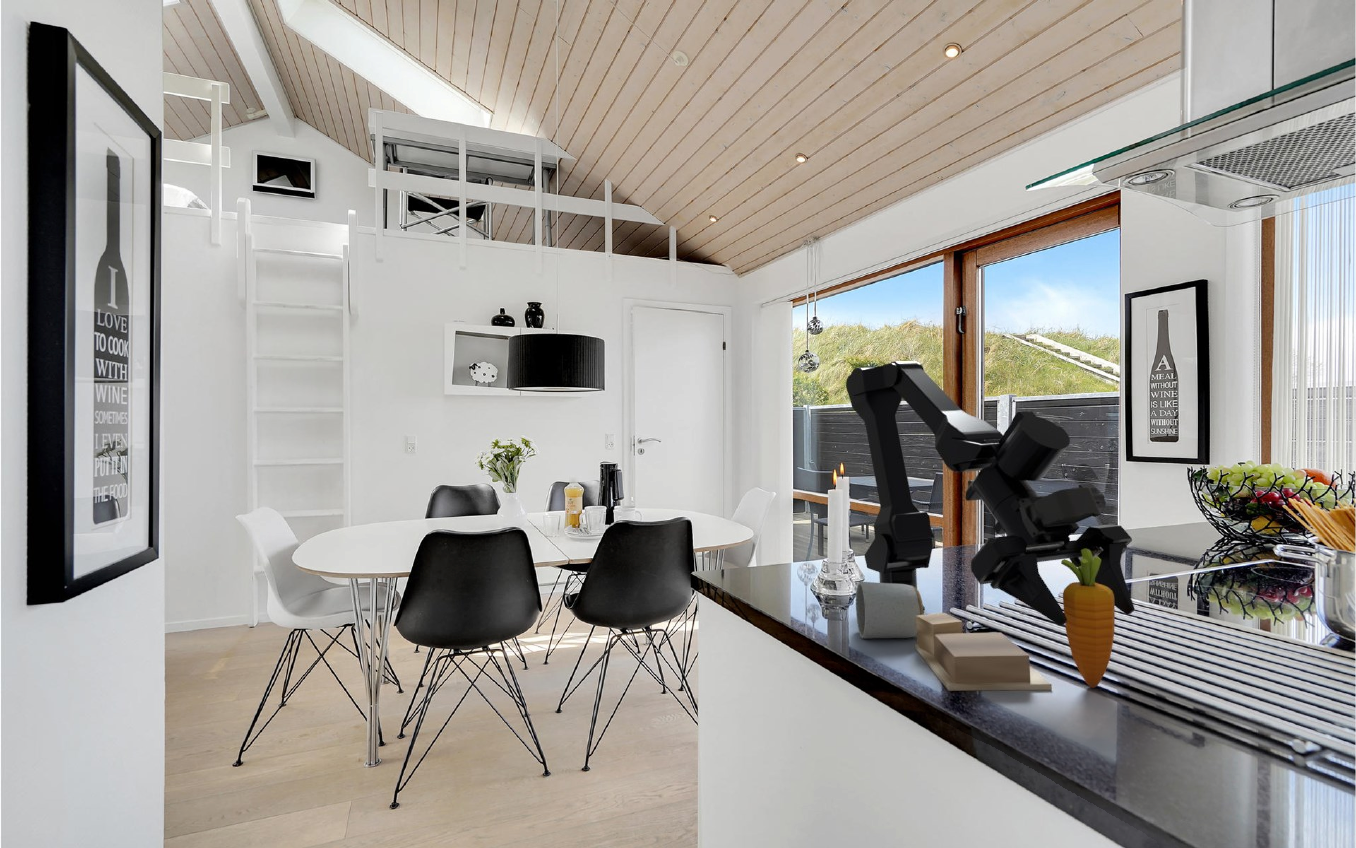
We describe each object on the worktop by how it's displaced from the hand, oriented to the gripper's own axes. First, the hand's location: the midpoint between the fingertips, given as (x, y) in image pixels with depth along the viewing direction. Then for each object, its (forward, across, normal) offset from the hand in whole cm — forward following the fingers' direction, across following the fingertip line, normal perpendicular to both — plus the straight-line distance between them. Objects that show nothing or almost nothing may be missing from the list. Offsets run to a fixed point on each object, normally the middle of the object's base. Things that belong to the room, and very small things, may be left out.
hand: (1098, 618), depth 72 cm
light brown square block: (-1, -8, +11) cm, 14 cm away
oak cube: (-6, -8, +16) cm, 19 cm away
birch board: (-2, -7, +13) cm, 15 cm away
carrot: (+5, 0, +7) cm, 8 cm away
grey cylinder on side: (-13, -10, +24) cm, 29 cm away
